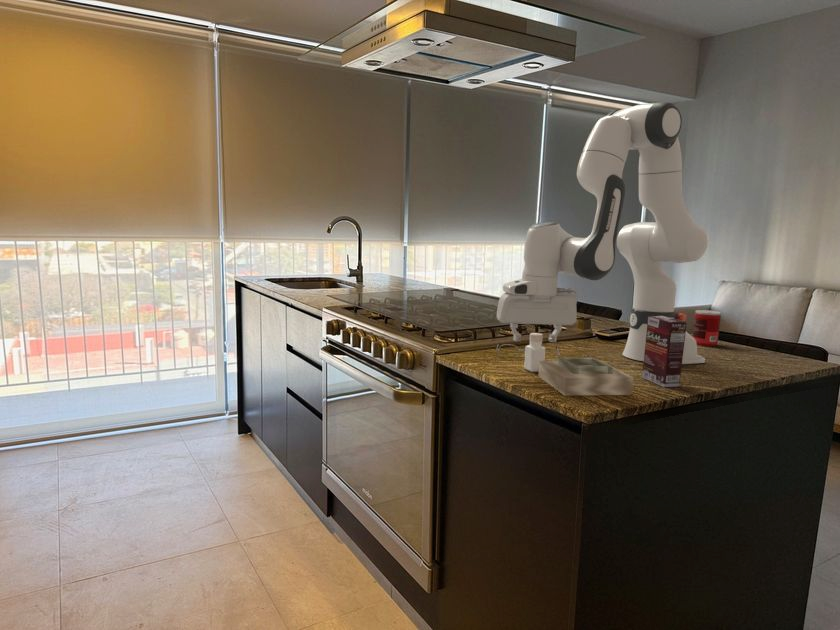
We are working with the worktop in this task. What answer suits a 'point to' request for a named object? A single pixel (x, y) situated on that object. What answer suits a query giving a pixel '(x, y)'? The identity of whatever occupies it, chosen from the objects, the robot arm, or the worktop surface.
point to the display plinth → (585, 377)
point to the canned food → (706, 327)
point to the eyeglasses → (524, 350)
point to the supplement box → (664, 350)
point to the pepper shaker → (534, 352)
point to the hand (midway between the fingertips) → (534, 341)
